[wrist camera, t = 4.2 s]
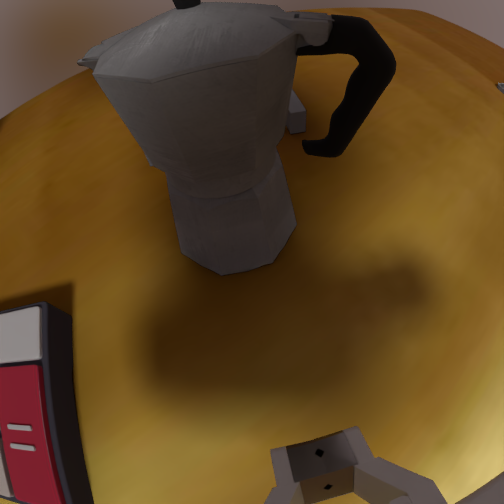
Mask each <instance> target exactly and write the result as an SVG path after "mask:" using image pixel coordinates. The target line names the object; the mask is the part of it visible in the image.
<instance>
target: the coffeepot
mask: <svg viewBox="0 0 504 504" xmlns="http://www.w3.org/2000/svg"><path fill="white" fill-rule="evenodd" d="M173 2H174V4H175V7H176V8H174V9H172V10H170V11H167V12H165V13H163V14H161V15H158V16H156V17H154V18H152V19H150V20H148V21H146V22H144V23H142V24H141V25H139V26H136V27H134V28H132V29H129V30H127V31H124V32H122V33H119V34H117V35H115V36H113V37H111V38H108V39H106V40H104V41H102V42H101V43H102V44H100V45H97V46H94V47H92V48H91V49H90V50H89V51H88V52H87V53H86V54H85V56H84V58H83V59H79V60H78V62H77V64H78V65H80V66H86V67H89V68H91V69H92V70H93V71H94V72H93V76H94V78H95V79H96V81H97V82H98V84H99V85H100V87H101V88H102V90H103V92H104V93H105V95H106V96H107V98H108V99H109V101H110V102H111V104H112V105H113V107H114V108H115V110H116V111H117V113H118V114H119V116H120V117H121V119H122V120H123V121H124V123H125V124H126V126H127V127H128V129H129V130H130V132H131V133H132V135H133V136H134V138H135V139H136V141H137V142H138V144H139V145H140V146H141V148H142V149H143V151H144V152H145V154H146V155H147V157H148V158H149V160H150V161H151V162H152V164H153V165H154V167H156V168H158V169H160V170H162V171H164V172H165V173H166V176H167V184H168V190H169V196H170V201H171V206H172V211H173V216H174V221H175V226H176V230H177V235H178V240H179V244H180V249H181V253H182V254H184V255H185V256H187V257H189V258H191V259H192V260H194V261H195V262H197V263H198V264H200V265H201V266H203V267H205V268H208V269H210V270H212V271H214V272H216V273H218V274H220V275H221V276H222V275H227V274H233V273H239V272H245V271H249V270H252V269H255V268H258V267H260V266H262V265H266V264H270V263H273V261H274V260H275V258H276V257H277V255H278V254H279V252H280V251H281V250H282V249H283V247H284V246H285V244H286V242H287V240H288V238H289V236H290V235H291V233H292V232H293V230H294V228H295V227H296V225H297V223H296V219H295V214H294V210H293V206H292V202H291V197H290V193H289V189H288V185H287V181H286V177H285V173H284V169H283V165H282V162H281V159H280V156H279V153H278V151H277V149H276V146H277V145H278V143H279V142H280V140H281V139H282V137H283V136H284V131H285V126H286V120H287V114H288V108H289V103H290V97H291V91H292V85H293V79H294V73H295V67H296V62H297V56H303V55H327V54H337V53H339V54H350V55H352V56H354V57H355V58H356V59H357V60H358V62H359V65H358V66H357V68H356V69H355V70H354V71H353V73H352V75H351V76H350V79H349V81H348V84H347V87H346V92H345V96H344V99H343V101H342V103H341V104H340V105H339V106H338V108H337V109H336V110H335V111H334V113H333V114H332V117H331V121H330V128H329V133H328V135H327V136H326V137H325V138H324V139H321V140H309V141H307V140H302V146H303V149H304V151H305V153H306V154H308V155H314V156H320V157H337V156H339V155H341V154H342V153H343V152H344V150H345V149H346V147H347V146H348V144H349V143H350V141H351V140H352V138H353V137H354V135H355V134H356V132H357V130H358V129H359V127H360V126H361V124H362V123H363V121H364V120H365V118H366V117H367V116H368V114H369V112H370V111H371V109H372V108H373V106H374V105H375V103H376V101H377V100H378V98H379V97H380V95H381V94H382V93H383V91H384V90H385V88H386V87H387V86H388V84H389V83H390V81H391V80H392V78H393V76H394V74H395V70H396V61H395V58H394V55H393V53H392V51H391V50H390V48H389V47H388V46H387V44H386V43H385V42H384V40H383V39H382V38H381V36H380V35H379V34H378V33H377V31H376V30H375V29H374V28H373V26H372V25H371V24H370V23H369V22H368V21H367V20H365V19H363V18H360V17H353V16H344V15H332V14H331V15H327V14H326V13H313V12H294V11H292V12H287V13H286V12H285V11H284V10H282V9H281V8H280V7H278V6H275V5H264V4H251V3H230V2H229V3H228V2H227V3H226V2H204V3H203V2H202V3H201V2H200V0H173Z"/></svg>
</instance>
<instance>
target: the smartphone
mask: <svg viewBox="0 0 504 504" xmlns="http://www.w3.org/2000/svg"><path fill="white" fill-rule="evenodd" d="M497 88H498V89H499V90H500V91H501V92H502V93H503V94H504V83H498V86H497Z"/></svg>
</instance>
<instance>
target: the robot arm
mask: <svg viewBox="0 0 504 504" xmlns="http://www.w3.org/2000/svg"><path fill="white" fill-rule="evenodd" d="M286 450H287V451H286ZM270 452H271V458H272V464H273V469H274V474H275V479H276V484H277V487H274V488H272V490H271V492H270V494H269V496H268V497H267V499H266V501H265V503H264V504H313V503H317V502H320V501H323V500H327V499H330V498H334V497H337V496H341V495H344V494H347V493H351V492H354V493H355V494H356V495H358V496H359V497H361V498H362V499H364V500H366V501H367V502H369V503H370V504H447V502H446V500H445V499H444V497H443V496H442V494H441V492H440V491H439V489H438V488H437V486H436V484H435V483H434V481H433V480H431V479H428V478H426V477H423V476H421V475H418V474H416V473H414V472H411V471H409V470H407V469H404V468H402V467H400V466H398V465H395V464H393V463H391V462H389V461H387V460H384V459H382V458H380V457H377V458H374V456H373V454H372V452H371V450H370V448H369V447H368V445H367V443H366V441H365V439H364V437H363V435H362V433H361V431H360V429H359V427H357V426H354V427H351V428H348V429H345V430H341V431H338V432H335V433H332V434H329V435H325V436H322V437H319V438H316V439H314V440H310V441H306V442H302V443H298V444H293V445H289V446H286V447H285V446H284V447H280V448H275V449H270ZM287 454H288V455H287ZM288 458H289V459H288ZM455 504H504V471H503V472H502V473H500V474H499V475H498V476H496V477H495V478H494V479H492V480H491V481H489V482H488V483H486V484H485V485H483V486H482V487H480V488H479V489H477V490H476V491H474V492H473V493H471V494H470V495H468V496H466V497H465V498H463V499H462V500H460V501H458V502H456V503H455Z"/></svg>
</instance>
